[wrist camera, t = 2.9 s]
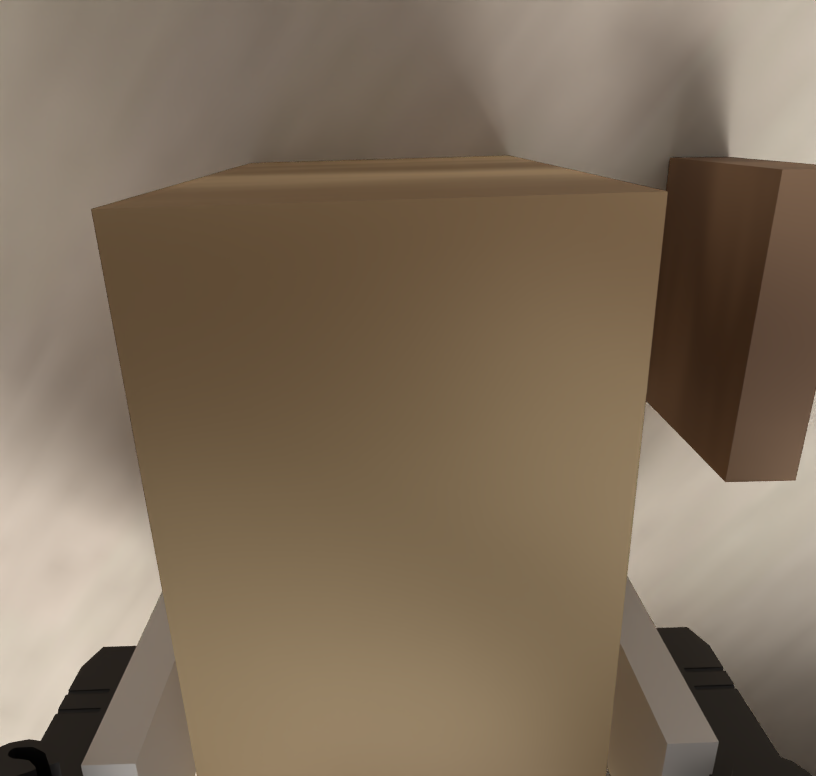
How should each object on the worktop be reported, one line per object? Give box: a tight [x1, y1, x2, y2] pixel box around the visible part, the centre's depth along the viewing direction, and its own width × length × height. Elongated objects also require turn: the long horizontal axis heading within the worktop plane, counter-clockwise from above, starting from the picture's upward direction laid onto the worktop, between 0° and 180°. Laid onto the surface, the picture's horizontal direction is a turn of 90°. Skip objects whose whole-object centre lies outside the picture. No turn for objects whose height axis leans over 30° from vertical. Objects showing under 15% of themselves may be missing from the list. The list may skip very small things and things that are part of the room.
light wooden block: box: [91, 155, 668, 776], centre depth 13 cm, size 16×5×8 cm, turn 1°
